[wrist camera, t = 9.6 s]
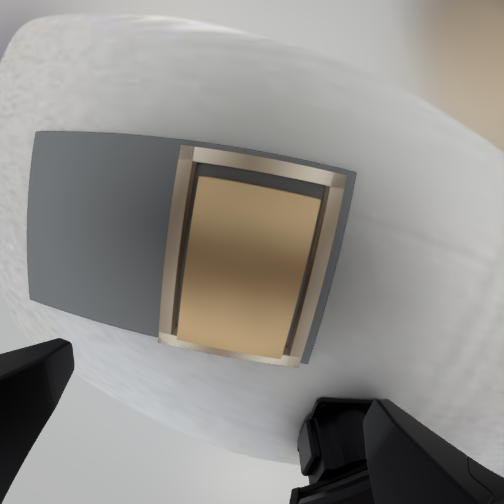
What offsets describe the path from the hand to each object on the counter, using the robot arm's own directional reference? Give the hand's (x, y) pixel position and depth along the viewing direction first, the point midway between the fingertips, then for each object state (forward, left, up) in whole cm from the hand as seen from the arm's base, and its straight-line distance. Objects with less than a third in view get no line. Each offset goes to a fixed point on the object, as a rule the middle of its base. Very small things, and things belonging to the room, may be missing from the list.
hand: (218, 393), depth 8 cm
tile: (0, -1, -11) cm, 11 cm away
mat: (+5, -1, -12) cm, 13 cm away
